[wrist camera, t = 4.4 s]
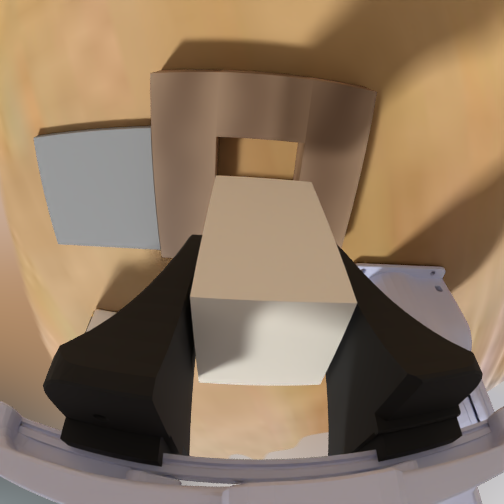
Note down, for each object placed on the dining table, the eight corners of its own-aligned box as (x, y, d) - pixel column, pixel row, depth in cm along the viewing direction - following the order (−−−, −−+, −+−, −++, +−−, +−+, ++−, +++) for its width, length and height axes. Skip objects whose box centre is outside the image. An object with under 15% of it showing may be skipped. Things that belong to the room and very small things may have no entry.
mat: (152, 125, 17) (150, 127, 17) (161, 245, 23) (160, 249, 22) (37, 135, 17) (33, 137, 16) (60, 240, 22) (58, 244, 22)
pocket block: (364, 87, 16) (377, 91, 14) (330, 249, 23) (336, 266, 21) (160, 70, 15) (150, 73, 14) (167, 240, 22) (161, 257, 21)
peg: (311, 182, 13) (357, 302, 7) (297, 257, 15) (319, 384, 10) (215, 175, 13) (190, 296, 7) (214, 252, 15) (199, 382, 10)
